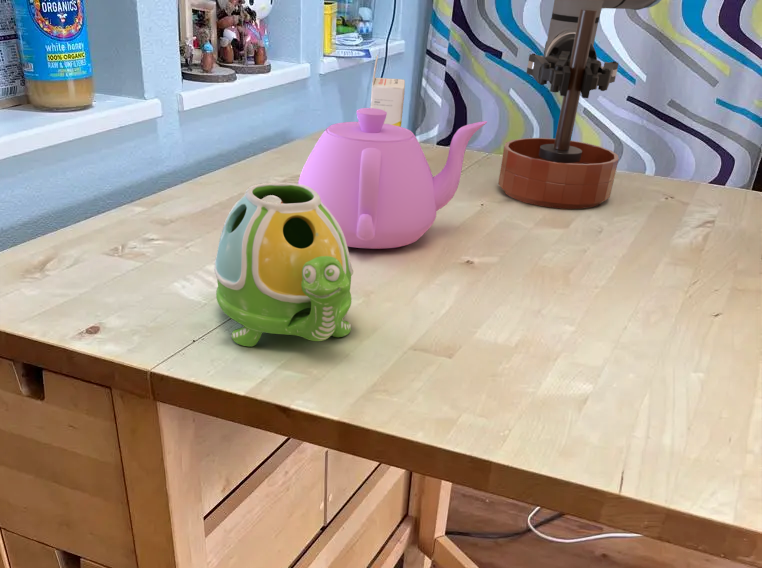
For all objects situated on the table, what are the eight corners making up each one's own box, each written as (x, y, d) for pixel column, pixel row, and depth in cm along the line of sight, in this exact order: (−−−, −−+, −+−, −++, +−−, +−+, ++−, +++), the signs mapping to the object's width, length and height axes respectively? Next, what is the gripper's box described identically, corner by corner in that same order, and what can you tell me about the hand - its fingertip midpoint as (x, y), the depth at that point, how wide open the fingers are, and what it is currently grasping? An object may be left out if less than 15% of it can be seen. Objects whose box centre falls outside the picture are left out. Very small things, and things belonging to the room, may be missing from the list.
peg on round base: (573, 153, 119) (603, 8, 108) (585, 163, 114) (618, 13, 103) (533, 151, 118) (560, 5, 107) (544, 161, 114) (573, 10, 103)
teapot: (481, 271, 91) (501, 138, 83) (289, 261, 90) (290, 124, 82) (460, 214, 108) (475, 99, 100) (299, 205, 108) (300, 88, 99)
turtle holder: (259, 386, 66) (256, 239, 59) (201, 304, 79) (193, 175, 72) (394, 367, 70) (407, 227, 63) (318, 292, 83) (322, 169, 76)
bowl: (587, 181, 127) (597, 140, 123) (623, 212, 114) (635, 166, 110) (487, 178, 125) (493, 135, 121) (512, 208, 112) (520, 162, 109)
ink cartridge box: (398, 174, 124) (407, 64, 115) (366, 171, 124) (372, 61, 115) (398, 160, 131) (406, 56, 122) (367, 158, 131) (374, 53, 122)
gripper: (614, 93, 126) (627, 122, 108) (516, 84, 127) (513, 111, 109) (626, 37, 121) (643, 57, 103) (525, 28, 123) (523, 47, 104)
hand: (576, 85), depth 106 cm, fingers closed on peg on round base, 2 cm apart
